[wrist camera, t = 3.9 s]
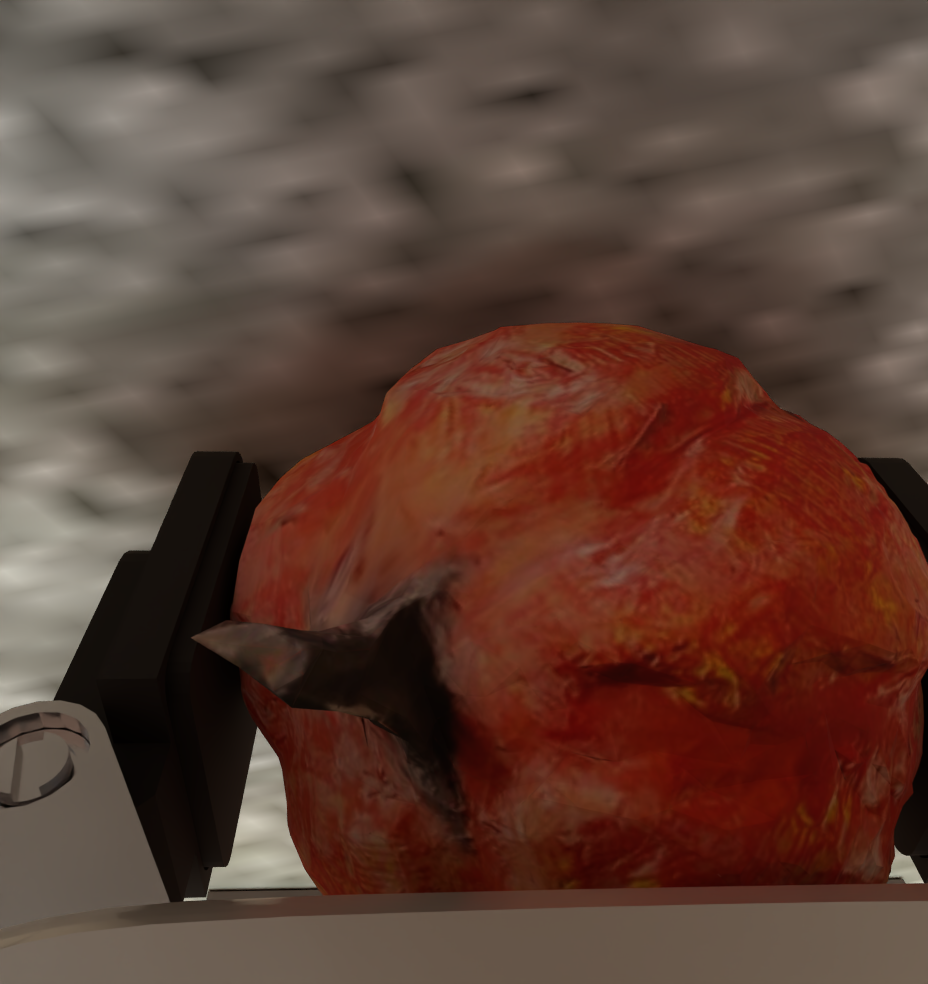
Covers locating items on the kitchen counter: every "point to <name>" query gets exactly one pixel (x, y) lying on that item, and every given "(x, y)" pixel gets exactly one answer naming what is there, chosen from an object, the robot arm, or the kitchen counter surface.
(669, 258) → the kitchen counter surface
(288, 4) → the kitchen counter surface
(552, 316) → the kitchen counter surface
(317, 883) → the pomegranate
